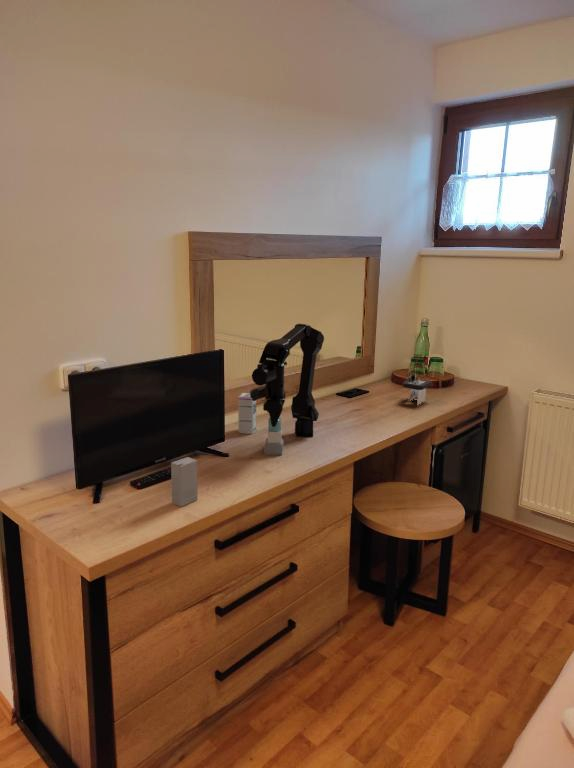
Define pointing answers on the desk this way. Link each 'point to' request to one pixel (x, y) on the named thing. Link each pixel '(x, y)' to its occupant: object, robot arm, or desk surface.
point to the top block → (274, 437)
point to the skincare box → (184, 481)
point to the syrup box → (246, 414)
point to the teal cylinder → (276, 428)
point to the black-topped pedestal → (417, 388)
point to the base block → (274, 447)
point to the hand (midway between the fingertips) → (274, 423)
